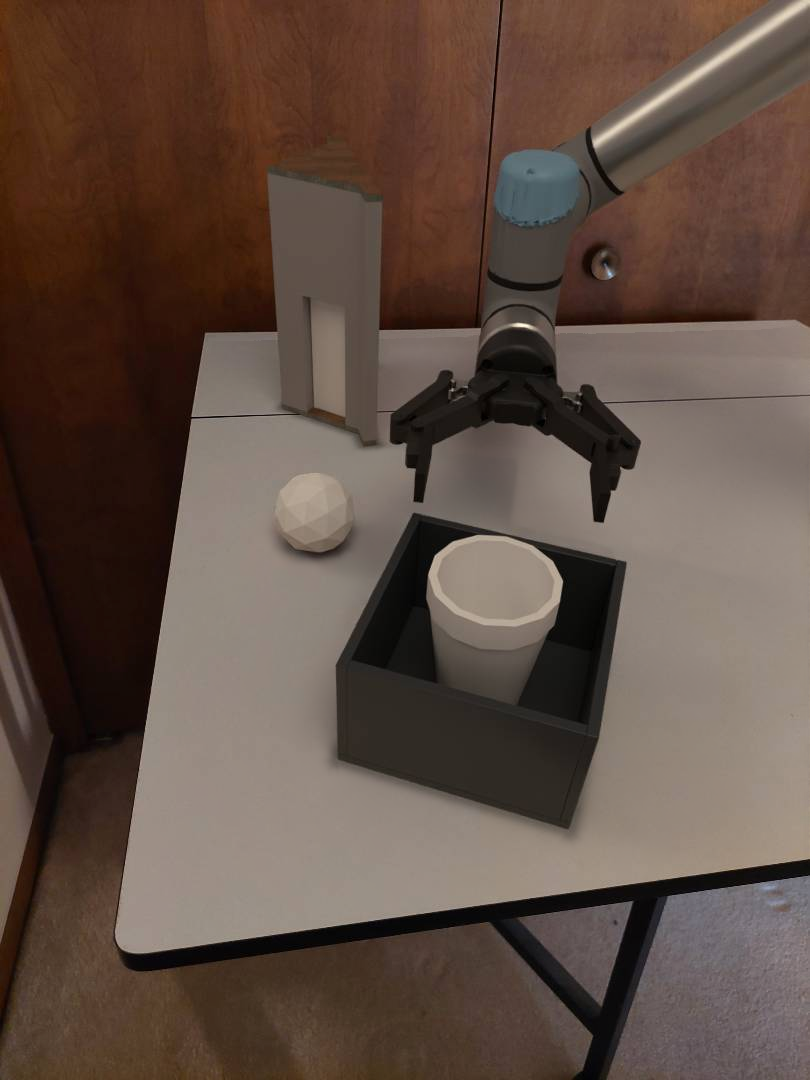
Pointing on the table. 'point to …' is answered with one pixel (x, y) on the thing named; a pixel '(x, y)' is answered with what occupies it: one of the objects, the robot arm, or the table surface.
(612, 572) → the waste bin
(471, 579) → the foam cup
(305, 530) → the geometric ball
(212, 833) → the table surface
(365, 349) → the cabinet
